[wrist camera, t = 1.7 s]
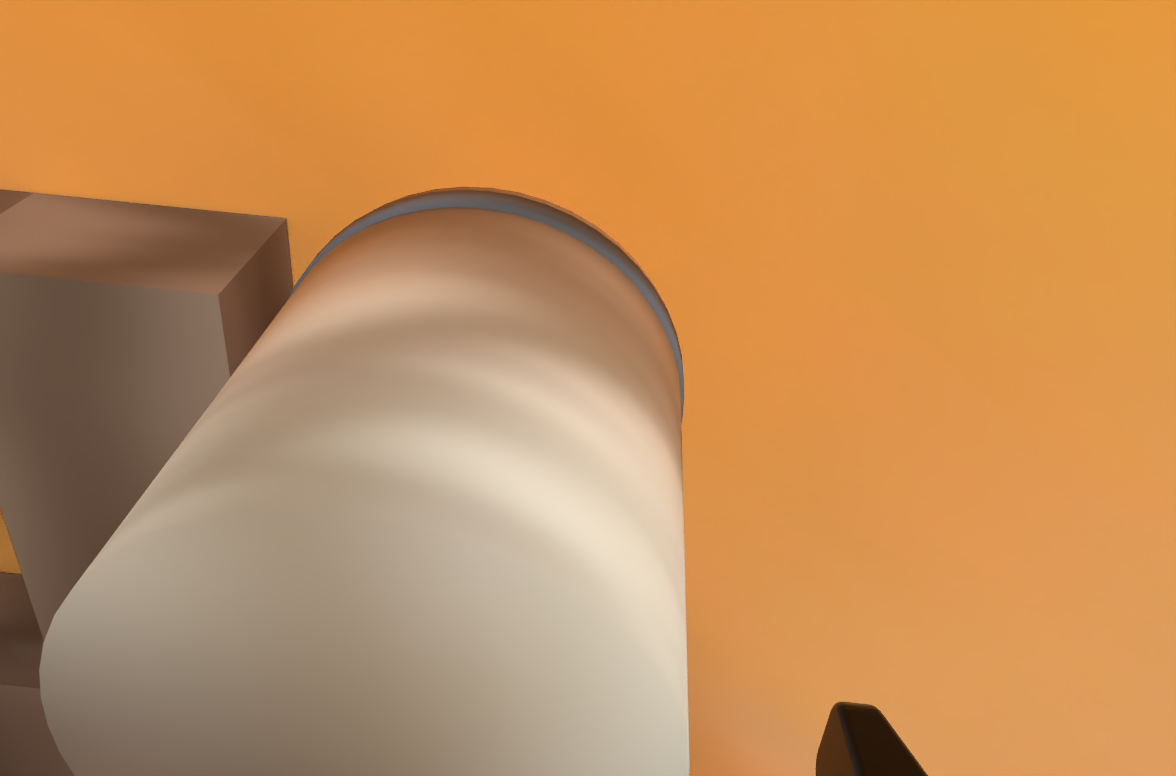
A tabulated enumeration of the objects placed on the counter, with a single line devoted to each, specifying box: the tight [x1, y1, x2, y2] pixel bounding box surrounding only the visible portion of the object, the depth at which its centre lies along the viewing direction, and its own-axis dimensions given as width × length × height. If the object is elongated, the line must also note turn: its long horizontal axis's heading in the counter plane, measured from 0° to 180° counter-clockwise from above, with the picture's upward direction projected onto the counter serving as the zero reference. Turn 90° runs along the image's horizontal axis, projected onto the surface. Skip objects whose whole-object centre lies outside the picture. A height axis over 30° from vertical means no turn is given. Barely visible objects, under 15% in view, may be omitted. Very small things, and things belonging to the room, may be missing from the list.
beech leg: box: [39, 187, 690, 776], centre depth 13 cm, size 6×6×10 cm
